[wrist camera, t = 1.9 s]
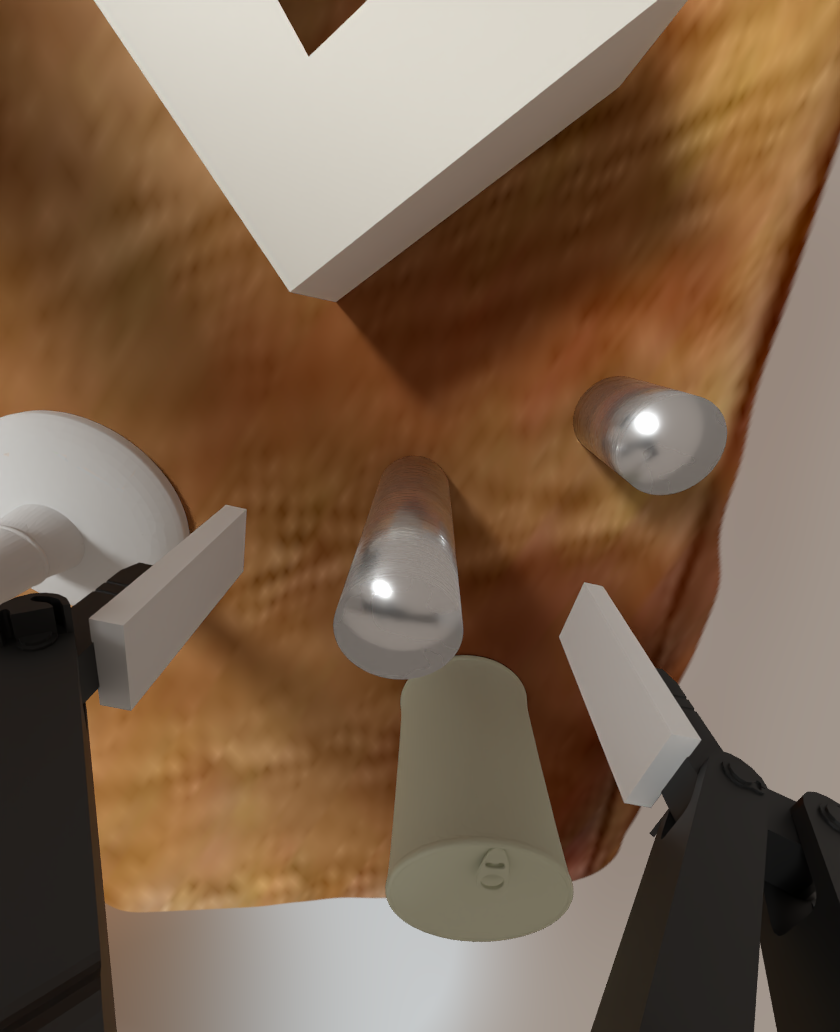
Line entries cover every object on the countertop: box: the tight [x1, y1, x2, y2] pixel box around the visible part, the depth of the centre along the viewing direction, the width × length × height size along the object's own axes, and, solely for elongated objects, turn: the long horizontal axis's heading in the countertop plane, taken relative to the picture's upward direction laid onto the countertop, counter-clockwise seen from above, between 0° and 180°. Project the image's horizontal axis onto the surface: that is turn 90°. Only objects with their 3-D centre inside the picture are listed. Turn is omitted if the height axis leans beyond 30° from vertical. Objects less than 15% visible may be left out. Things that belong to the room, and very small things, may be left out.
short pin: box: [573, 376, 727, 495], centre depth 19 cm, size 4×4×6 cm
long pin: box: [333, 456, 463, 679], centre depth 18 cm, size 4×4×12 cm
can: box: [385, 655, 573, 942], centre depth 25 cm, size 9×9×12 cm
